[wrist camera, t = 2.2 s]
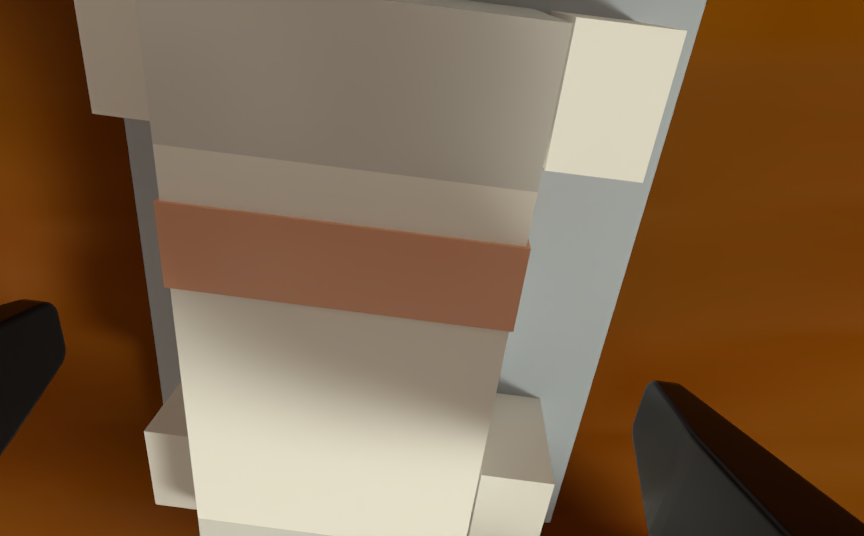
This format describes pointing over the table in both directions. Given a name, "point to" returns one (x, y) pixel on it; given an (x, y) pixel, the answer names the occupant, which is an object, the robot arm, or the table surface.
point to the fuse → (344, 247)
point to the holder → (549, 237)
